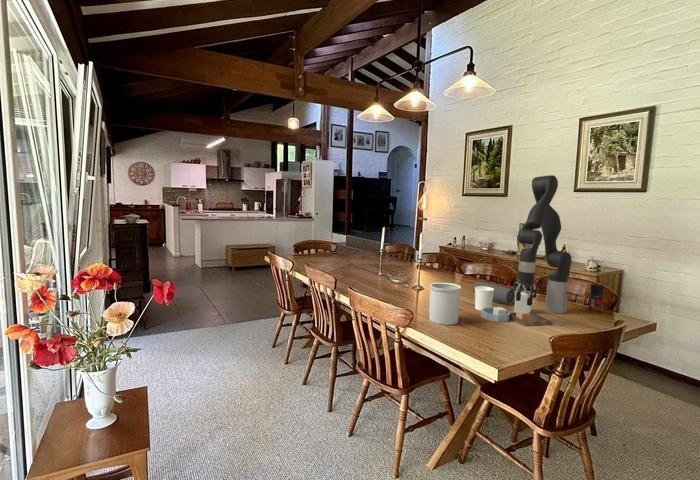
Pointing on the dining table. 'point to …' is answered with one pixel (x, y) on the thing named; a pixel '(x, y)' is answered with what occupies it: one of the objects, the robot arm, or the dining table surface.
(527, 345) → the dining table surface
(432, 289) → the utensil holder
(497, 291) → the bluetooth speaker
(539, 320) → the walnut tray
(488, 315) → the ceramic bowl
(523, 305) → the small box
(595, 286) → the deodorant
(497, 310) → the off-white cube
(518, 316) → the tan cube
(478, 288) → the candle holder
